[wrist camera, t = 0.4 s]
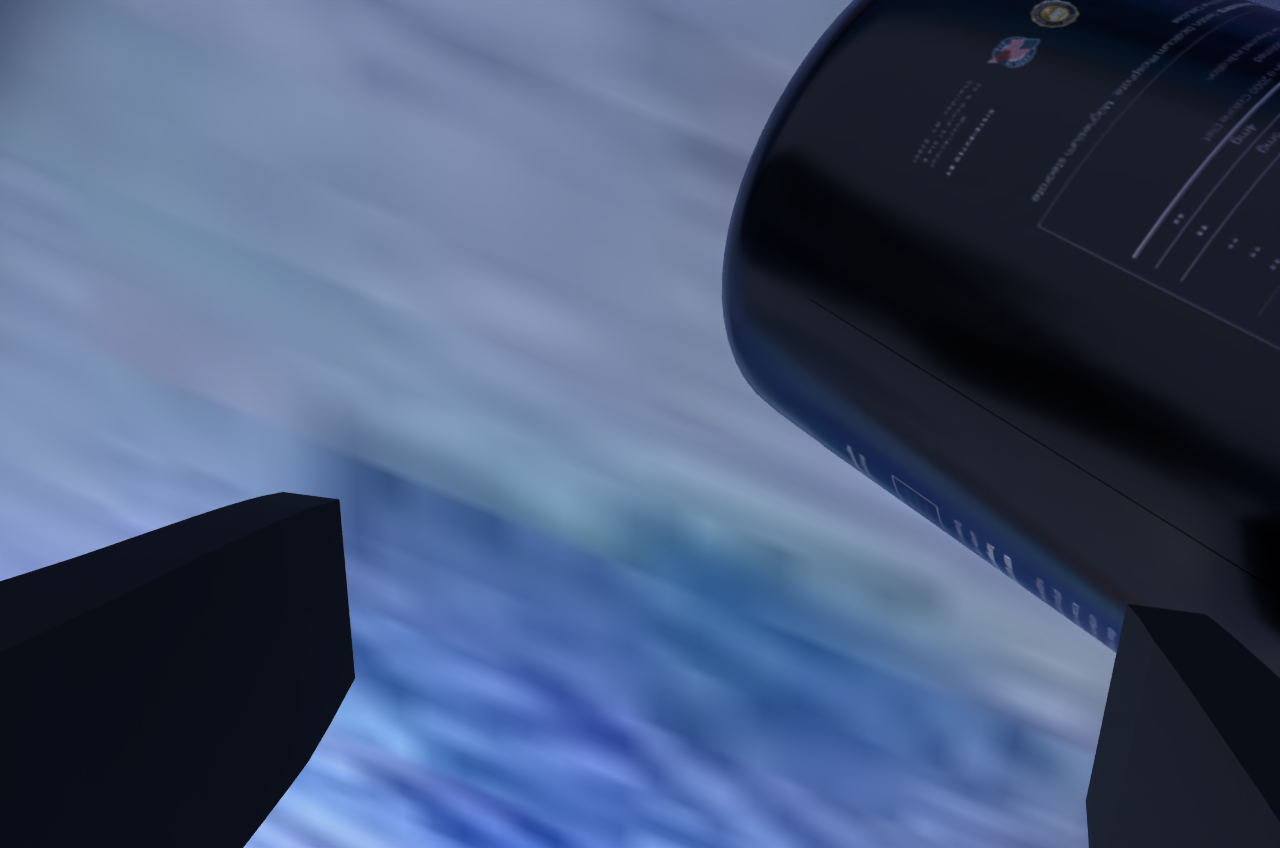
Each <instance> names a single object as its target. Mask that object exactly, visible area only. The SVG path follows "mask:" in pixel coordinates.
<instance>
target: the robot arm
mask: <svg viewBox="0 0 1280 848" xmlns="http://www.w3.org/2000/svg"><path fill="white" fill-rule="evenodd" d="M354 679H355V672H354V661H353V650H352V638H351V627H350V616H349V604H348V593H347V582H346V570H345V559H344V548H343V536H342V525H341V513H340V502H339V499H332V498H324V497H317V496H309V495H302V494H294V493H286V492H281V493H276V494H271V495H266V496H261V497H257V498H253V499H249V500H245V501H242V502H239V503H235V504H232V505H228V506H225V507H222V508H219V509H216V510H212V511H209V512H206V513H203V514H200V515H197V516H194V517H191V518H188V519H185V520H183V521H180V522H177V523H174V524H171V525H168V526H165V527H162V528H159V529H156V530H153V531H151V532H148V533H145V534H142V535H139V536H136V537H133V538H130V539H127V540H125V541H122V542H119V543H116V544H113V545H110V546H107V547H104V548H101V549H99V550H96V551H93V552H90V553H87V554H84V555H81V556H78V557H75V558H72V559H69V560H66V561H63V562H60V563H57V564H54V565H50V566H47V567H44V568H41V569H38V570H35V571H31V572H28V573H25V574H22V575H19V576H16V577H13V578H9V579H6V580H3V581H0V848H243V847H244V846H245V845H246V843H247V842H248V841H249V840H250V838H251V837H252V836H253V834H254V833H255V832H256V831H257V829H258V828H259V827H260V825H261V824H262V823H263V821H264V820H265V819H266V817H267V816H268V815H269V813H270V812H271V811H272V810H273V808H274V807H275V806H276V804H277V803H278V802H279V800H280V799H281V798H282V796H283V795H284V794H285V792H286V791H287V790H288V788H289V787H290V786H291V784H292V783H293V782H294V780H295V779H296V778H297V776H298V775H299V774H300V772H301V771H302V770H303V768H304V767H305V765H306V764H307V763H308V761H309V759H310V758H311V756H312V754H313V753H314V751H315V749H316V748H317V746H318V744H319V742H320V741H321V739H322V737H323V736H324V734H325V732H326V731H327V729H328V727H329V725H330V724H331V722H332V720H333V718H334V716H335V714H336V713H337V711H338V709H339V707H340V705H341V703H342V701H343V699H344V698H345V696H346V694H347V692H348V690H349V688H350V686H351V685H352V683H353V681H354ZM1086 809H1087V824H1088V838H1089V848H1280V678H1279V677H1278V676H1277V675H1276V674H1275V673H1274V672H1273V671H1272V670H1270V669H1269V668H1268V667H1267V666H1266V665H1265V664H1264V663H1263V662H1262V661H1260V660H1259V659H1258V658H1257V657H1256V656H1255V655H1254V654H1253V653H1251V652H1250V651H1249V650H1248V649H1247V648H1246V647H1245V646H1244V645H1242V644H1241V643H1240V642H1239V641H1238V640H1237V639H1236V638H1234V637H1233V636H1232V635H1231V634H1230V633H1229V632H1228V631H1226V630H1225V629H1224V628H1223V627H1222V626H1220V625H1219V624H1218V623H1217V622H1215V621H1214V620H1213V619H1211V618H1210V617H1209V616H1207V615H1206V614H1200V613H1193V612H1185V611H1178V610H1170V609H1163V608H1155V607H1147V606H1140V605H1132V604H1127V605H1126V610H1125V615H1124V620H1123V625H1122V629H1121V634H1120V639H1119V644H1118V649H1117V654H1116V658H1115V663H1114V668H1113V673H1112V678H1111V682H1110V687H1109V692H1108V697H1107V702H1106V707H1105V711H1104V716H1103V721H1102V726H1101V731H1100V736H1099V740H1098V745H1097V750H1096V755H1095V760H1094V764H1093V769H1092V774H1091V779H1090V784H1089V789H1088V793H1087V798H1086Z"/></svg>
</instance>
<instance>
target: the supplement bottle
mask: <svg viewBox="0 0 1280 848" xmlns="http://www.w3.org/2000/svg"><path fill="white" fill-rule="evenodd" d="M722 305H723V316H724V322H725V327H726V332H727V337H728V341H729V344H730V347H731V350H732V353H733V356H734V358H735V361H736V363H737V365H738V367H739V369H740V371H741V373H742V375H743V377H744V378H745V379H746V381H747V382H748V383H749V385H750V386H751V387H752V389H753V390H754V391H755V393H756V394H757V395H759V396H760V397H761V398H762V399H763V400H764V401H765V402H767V403H768V404H769V405H770V406H771V407H772V408H774V409H775V410H776V411H777V412H778V413H780V414H781V415H782V416H784V417H785V418H786V419H788V420H789V421H791V422H792V423H793V424H795V425H796V426H797V427H799V428H800V429H801V430H803V431H804V432H806V433H807V434H808V435H810V436H811V437H813V438H814V439H816V440H817V441H818V442H820V443H821V444H822V445H823V446H824V447H826V448H827V449H828V450H830V451H831V452H833V453H834V454H836V455H837V456H838V457H840V458H841V459H843V460H844V461H845V462H847V463H848V464H850V465H851V466H852V467H854V468H855V469H857V470H858V471H860V472H861V473H862V474H864V475H865V476H867V477H868V478H869V479H871V480H872V481H874V482H875V483H877V484H878V485H879V486H881V487H882V488H884V489H885V490H886V491H888V492H889V493H891V494H892V495H894V496H895V497H896V498H898V499H899V500H901V501H902V502H903V503H905V504H906V505H908V506H909V507H911V508H912V509H913V510H915V511H916V512H918V513H919V514H920V515H922V516H923V517H925V518H926V519H928V520H929V521H930V522H932V523H933V524H935V525H936V526H937V527H939V528H940V529H942V530H943V531H945V532H946V533H947V534H949V535H950V536H952V537H953V538H954V539H956V540H957V541H959V542H960V543H962V544H963V545H964V546H966V547H967V548H969V549H970V550H971V551H973V552H974V553H976V554H977V555H979V556H980V557H981V558H983V559H984V560H986V561H987V562H988V563H990V564H991V565H993V566H994V567H996V568H997V569H998V570H1000V571H1001V572H1003V573H1004V574H1005V575H1007V576H1008V577H1010V578H1011V579H1013V580H1014V581H1015V582H1017V583H1018V584H1020V585H1021V586H1022V587H1024V588H1025V589H1027V590H1028V591H1030V592H1031V593H1032V594H1034V595H1035V596H1037V597H1038V598H1039V599H1041V600H1042V601H1044V602H1045V603H1047V604H1048V605H1049V606H1051V607H1052V608H1054V609H1055V610H1056V611H1058V612H1059V613H1061V614H1062V615H1064V616H1065V617H1066V618H1068V619H1069V620H1071V621H1072V622H1073V623H1075V624H1076V625H1078V626H1079V627H1081V628H1082V629H1083V630H1085V631H1086V632H1088V633H1089V634H1090V635H1092V636H1093V637H1095V638H1096V639H1098V640H1099V641H1100V642H1102V643H1103V644H1105V645H1106V646H1107V647H1109V648H1110V649H1112V650H1113V651H1115V652H1116V653H1117V649H1118V644H1119V639H1120V634H1121V629H1122V625H1123V620H1124V615H1125V610H1126V605H1127V604H1132V605H1140V606H1147V607H1155V608H1163V609H1170V610H1178V611H1185V612H1193V613H1200V614H1206V615H1207V616H1209V617H1210V618H1211V619H1213V620H1214V621H1215V622H1217V623H1218V624H1219V625H1220V626H1222V627H1223V628H1224V629H1225V630H1226V631H1228V632H1229V633H1230V634H1231V635H1232V636H1233V637H1234V638H1236V639H1237V640H1238V641H1239V642H1240V643H1241V644H1242V645H1244V646H1245V647H1246V648H1247V649H1248V650H1249V651H1250V652H1251V653H1253V654H1254V655H1255V656H1256V657H1257V658H1258V659H1259V660H1260V661H1262V662H1263V663H1264V664H1265V665H1266V666H1267V667H1268V668H1269V669H1270V670H1272V671H1273V672H1274V673H1275V674H1276V675H1277V676H1278V677H1279V678H1280V11H1277V10H1274V9H1271V8H1268V7H1265V6H1262V5H1259V4H1256V3H1253V2H1250V1H1247V0H853V1H852V2H851V3H850V4H849V5H848V6H847V7H846V8H845V9H844V11H843V12H842V13H841V14H840V15H839V16H838V17H837V18H836V19H835V20H834V22H833V23H832V24H831V25H830V26H829V28H828V29H827V30H826V31H825V32H824V34H823V35H822V36H821V37H820V39H819V40H818V41H817V43H816V44H815V45H814V47H813V48H812V49H811V51H810V52H809V53H808V55H807V56H806V57H805V59H804V60H803V62H802V63H801V65H800V66H799V68H798V69H797V71H796V73H795V74H794V76H793V77H792V79H791V80H790V82H789V83H788V85H787V87H786V88H785V90H784V92H783V94H782V95H781V97H780V99H779V101H778V102H777V104H776V106H775V108H774V110H773V111H772V113H771V115H770V117H769V119H768V121H767V123H766V125H765V127H764V129H763V131H762V133H761V136H760V138H759V140H758V142H757V145H756V147H755V149H754V151H753V154H752V156H751V158H750V161H749V164H748V166H747V169H746V172H745V174H744V177H743V180H742V182H741V185H740V189H739V192H738V195H737V198H736V202H735V205H734V208H733V213H732V217H731V221H730V225H729V229H728V234H727V240H726V246H725V252H724V261H723V272H722Z"/></svg>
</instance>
